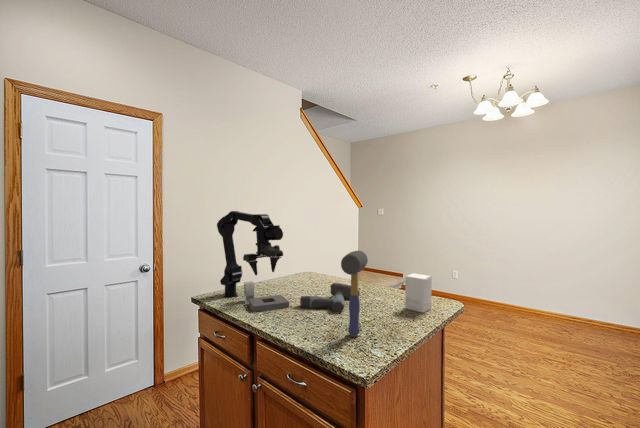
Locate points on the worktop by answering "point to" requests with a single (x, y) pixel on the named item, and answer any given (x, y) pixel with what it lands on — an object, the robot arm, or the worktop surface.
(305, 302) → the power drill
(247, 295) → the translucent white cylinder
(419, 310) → the supplement box
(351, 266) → the rubber mallet
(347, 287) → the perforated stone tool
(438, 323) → the worktop surface
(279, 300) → the grey slab with hole
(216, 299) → the worktop surface
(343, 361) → the worktop surface
